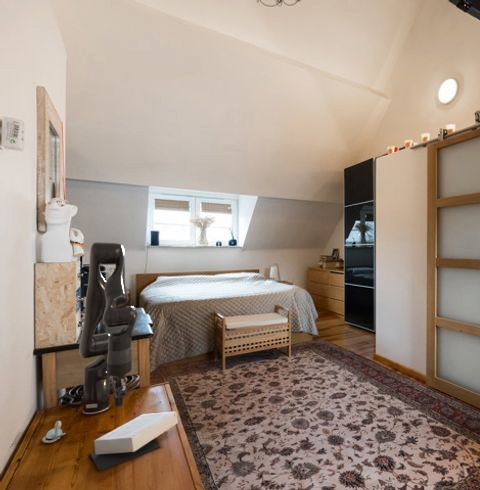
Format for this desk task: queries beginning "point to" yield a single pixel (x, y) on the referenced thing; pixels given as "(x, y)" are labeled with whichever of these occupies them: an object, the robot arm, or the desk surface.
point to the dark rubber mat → (121, 456)
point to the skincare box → (135, 433)
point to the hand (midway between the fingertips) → (118, 405)
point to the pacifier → (54, 433)
